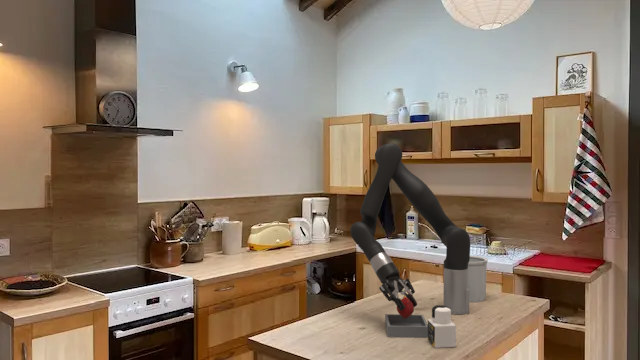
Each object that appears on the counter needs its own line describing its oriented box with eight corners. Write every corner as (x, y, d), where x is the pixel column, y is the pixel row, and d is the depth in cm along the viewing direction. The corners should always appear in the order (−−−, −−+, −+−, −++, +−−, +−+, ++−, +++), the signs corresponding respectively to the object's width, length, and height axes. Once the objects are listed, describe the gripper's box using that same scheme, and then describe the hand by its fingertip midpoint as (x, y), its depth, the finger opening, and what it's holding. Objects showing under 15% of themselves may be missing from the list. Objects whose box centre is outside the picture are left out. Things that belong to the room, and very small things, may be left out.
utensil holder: (492, 303, 206) (492, 261, 206) (456, 303, 207) (456, 261, 206) (481, 293, 221) (481, 255, 221) (447, 293, 221) (447, 255, 221)
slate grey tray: (422, 324, 178) (422, 314, 178) (428, 337, 165) (428, 326, 165) (385, 324, 179) (385, 314, 179) (387, 336, 166) (387, 326, 165)
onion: (414, 317, 174) (415, 294, 173) (412, 322, 168) (412, 298, 168) (398, 315, 176) (398, 293, 175) (395, 320, 170) (395, 297, 170)
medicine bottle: (427, 340, 162) (427, 304, 162) (448, 339, 163) (448, 303, 163) (434, 348, 155) (434, 310, 155) (456, 347, 156) (456, 309, 156)
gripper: (375, 264, 173) (401, 305, 164) (403, 259, 182) (428, 298, 173) (364, 276, 177) (389, 317, 168) (392, 271, 186) (416, 309, 177)
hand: (409, 307), depth 170 cm, fingers closed on onion, 5 cm apart
